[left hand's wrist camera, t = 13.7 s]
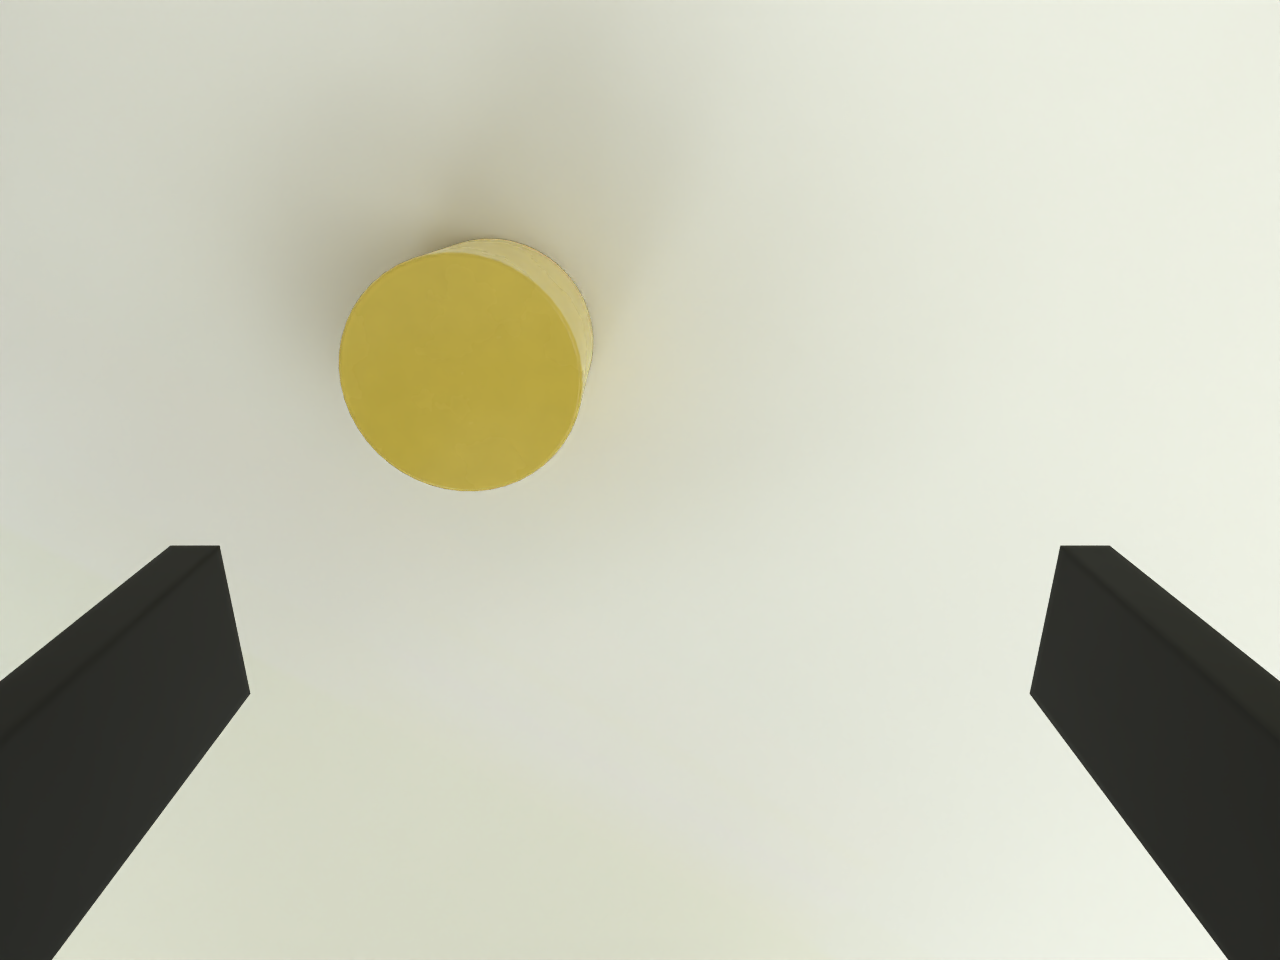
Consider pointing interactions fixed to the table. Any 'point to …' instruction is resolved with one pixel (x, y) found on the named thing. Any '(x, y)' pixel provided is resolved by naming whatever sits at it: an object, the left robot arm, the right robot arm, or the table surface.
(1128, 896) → the table surface
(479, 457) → the cylinder
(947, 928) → the table surface
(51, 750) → the left robot arm
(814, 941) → the table surface
